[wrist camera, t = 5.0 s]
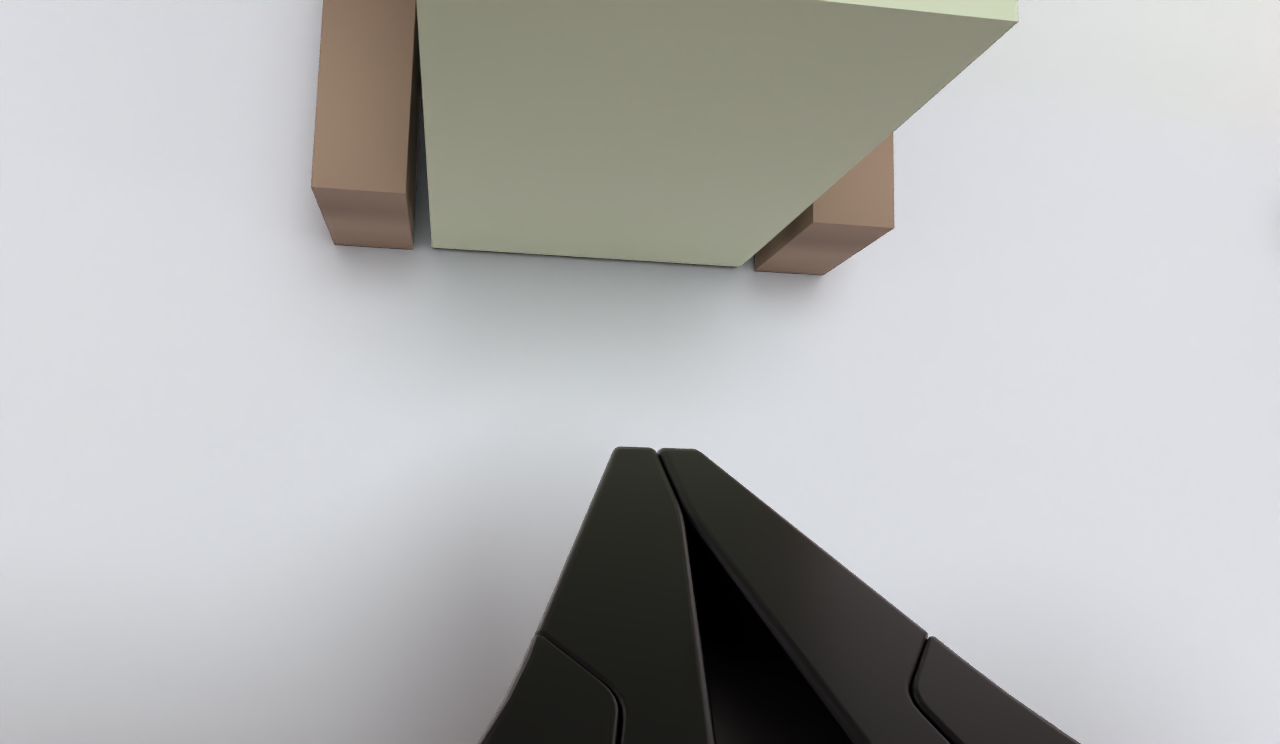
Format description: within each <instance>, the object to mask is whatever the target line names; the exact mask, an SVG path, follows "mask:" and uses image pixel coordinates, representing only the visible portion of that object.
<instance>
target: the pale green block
mask: <svg viewBox="0 0 1280 744" xmlns="http://www.w3.org/2000/svg"><path fill="white" fill-rule="evenodd" d="M416 3H417V18H418V34H419V50H420V66H421V82H422V98H423V114H424V130H425V146H426V162H427V178H428V194H429V210H430V225H431V241H432V248H448V249H463V250H479V251H495V252H511V253H527V254H543V255H559V256H575V257H591V258H607V259H623V260H639V261H655V262H671V263H687V264H703V265H719V266H735V267H741V266H742V265H743V264H744V263H745V262H747V261H748V260H749V259H750V258H751V257H752V256H753V255H754V254H756V253H757V252H758V251H759V250H760V249H761V248H762V247H764V246H765V245H766V244H767V243H768V242H769V241H770V240H771V239H773V238H774V237H775V236H776V235H777V234H778V233H779V232H781V231H782V230H783V229H784V228H785V227H786V226H787V225H788V224H790V223H791V222H792V221H793V220H794V219H795V218H796V217H798V216H799V215H800V214H801V213H802V212H803V211H804V210H805V209H807V208H808V207H809V206H810V205H811V204H812V203H813V202H815V201H816V200H817V199H818V198H819V197H820V196H821V195H822V194H824V193H825V192H826V191H827V190H828V189H829V188H830V187H832V186H833V185H834V184H835V183H836V182H837V181H838V180H839V179H841V178H842V177H843V176H844V175H845V174H846V173H847V172H849V171H850V170H851V169H852V168H853V167H854V166H855V165H856V164H858V163H859V162H860V161H861V160H862V159H863V158H864V157H866V156H867V155H868V154H869V153H870V152H871V151H872V150H873V149H875V148H876V147H877V146H878V145H879V144H880V143H881V142H883V141H884V140H885V139H886V138H887V137H888V136H889V135H890V134H892V133H893V132H894V131H895V130H896V129H897V128H898V127H900V126H901V125H902V124H903V123H904V122H905V121H906V120H907V119H909V118H910V117H911V116H912V115H913V114H914V113H915V112H917V111H918V110H919V109H920V108H921V107H922V106H923V105H924V104H926V103H927V102H928V101H929V100H930V99H931V98H932V97H934V96H935V95H936V94H937V93H938V92H939V91H940V90H941V89H943V88H944V87H945V86H946V85H947V84H948V83H949V82H951V81H952V80H953V79H954V78H955V77H956V76H957V75H958V74H960V73H961V72H962V71H963V70H964V69H965V68H966V67H968V66H969V65H970V64H971V63H972V62H973V61H974V60H975V59H977V58H978V57H979V56H980V55H981V54H982V53H983V52H985V51H986V50H987V49H988V48H989V47H990V46H991V45H992V44H994V43H995V42H996V41H997V40H998V39H999V38H1000V37H1002V36H1003V35H1004V34H1005V33H1006V32H1007V31H1008V30H1009V29H1011V28H1012V27H1013V26H1014V25H1015V24H1016V23H1017V22H1019V21H1018V0H416Z"/></svg>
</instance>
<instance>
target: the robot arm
mask: <svg viewBox="0 0 1280 744" xmlns="http://www.w3.org/2000/svg"><path fill="white" fill-rule="evenodd" d="M927 638H928V634H927V632H926V631H925V630H923V629H922V628H921V627H920V626H918V625H917V624H916V623H915V622H913V621H912V620H911V619H910V618H908V617H907V616H906V615H905V614H903V613H902V612H901V611H900V610H898V609H897V608H896V607H895V606H893V605H892V604H891V603H890V602H888V601H887V600H886V599H885V598H883V597H882V596H881V595H880V594H878V593H877V592H876V591H874V590H873V589H872V588H871V587H869V586H868V585H867V584H866V583H864V582H863V581H862V580H861V579H859V578H858V577H857V576H856V575H854V574H853V573H852V572H851V571H849V570H848V569H847V568H846V567H844V566H843V565H842V564H841V563H839V562H838V561H837V560H836V559H834V558H833V557H832V556H831V555H829V554H828V553H827V552H826V551H824V550H823V549H822V548H821V547H819V546H818V545H817V544H815V543H814V542H813V541H812V540H810V539H809V538H808V537H807V536H805V535H804V534H803V533H802V532H800V531H799V530H798V529H797V528H795V527H794V526H793V525H792V524H790V523H789V522H788V521H787V520H785V519H784V518H783V517H782V516H780V515H779V514H778V513H777V512H775V511H774V510H773V509H772V508H770V507H769V506H768V505H767V504H765V503H764V502H763V501H762V500H760V499H759V498H758V497H756V496H755V495H754V494H753V493H751V492H750V491H749V490H748V489H746V488H745V487H744V486H743V485H741V484H740V483H739V482H738V481H736V480H735V479H734V478H733V477H731V476H730V475H729V474H728V473H726V472H725V471H724V470H723V469H721V468H720V467H719V466H718V465H716V464H715V463H714V462H713V461H711V460H710V459H709V458H708V457H706V456H705V455H704V454H703V453H701V452H699V451H698V450H696V449H679V448H662V449H660V450H658V452H657V453H656V451H655V450H654V449H652V448H647V447H617V448H615V449H614V450H613V452H612V454H611V457H610V459H609V461H608V464H607V466H606V469H605V471H604V473H603V476H602V478H601V480H600V483H599V485H598V487H597V490H596V492H595V494H594V497H593V499H592V501H591V504H590V506H589V509H588V511H587V513H586V516H585V518H584V520H583V523H582V525H581V527H580V530H579V532H578V534H577V537H576V539H575V541H574V544H573V546H572V549H571V551H570V553H569V556H568V558H567V560H566V563H565V565H564V567H563V570H562V572H561V574H560V577H559V579H558V581H557V584H556V586H555V588H554V591H553V593H552V596H551V598H550V600H549V603H548V605H547V607H546V610H545V612H544V614H543V617H542V619H541V621H540V624H539V626H538V628H537V631H536V633H535V636H534V637H533V638H532V640H531V643H530V645H529V647H528V650H527V652H526V654H525V657H524V659H523V661H522V664H521V666H520V668H519V670H518V672H517V674H516V676H515V678H514V680H513V682H512V684H511V686H510V688H509V690H508V692H507V694H506V696H505V698H504V701H503V702H502V704H501V706H500V707H499V709H498V711H497V712H496V714H495V716H494V717H493V719H492V721H491V722H490V724H489V726H488V727H487V729H486V731H485V732H484V734H483V736H482V737H481V739H480V741H479V742H478V744H1080V743H1079V742H1077V741H1076V740H1074V739H1073V738H1071V737H1070V736H1068V735H1067V734H1065V733H1064V732H1062V731H1061V730H1059V729H1058V728H1057V727H1055V726H1054V725H1052V724H1051V723H1049V722H1048V721H1047V720H1045V719H1044V718H1042V717H1041V716H1039V715H1038V714H1037V713H1035V712H1034V711H1032V710H1031V709H1029V708H1028V707H1027V706H1025V705H1024V704H1022V703H1021V702H1019V701H1018V700H1017V699H1015V698H1014V697H1012V696H1011V695H1009V694H1008V693H1007V692H1005V691H1004V690H1003V689H1002V688H1000V687H999V686H998V685H996V684H995V683H994V682H992V681H991V680H990V679H988V678H987V677H986V676H984V675H983V674H982V673H980V672H979V671H978V670H976V669H975V668H974V667H973V666H971V665H970V664H969V663H967V662H966V661H965V660H963V659H962V658H961V657H960V656H958V655H957V654H956V653H954V652H953V651H952V650H951V649H949V648H948V647H947V646H946V645H944V644H943V643H942V642H941V641H939V640H938V639H937V638H936V637H933V636H931V637H929V638H928V639H927Z"/></svg>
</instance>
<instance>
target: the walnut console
mask: <svg viewBox="0 0 1280 744" xmlns="http://www.w3.org/2000/svg"><path fill="white" fill-rule="evenodd" d="M421 83H422V82H421V66H420V50H419V34H418V18H417V3H416V0H323V14H322V29H321V44H320V59H319V74H318V90H317V105H316V120H315V135H314V150H313V165H312V180H311V188H312V190H313V193H314V195H315V198H316V200H317V203H318V205H319V207H320V210H321V212H322V215H323V217H324V220H325V222H326V224H327V227H328V229H329V232H330V234H331V237H332V239H333V242H334V244H335V245H350V246H366V247H382V248H398V249H413V237H414V217H415V198H416V179H417V160H418V140H419V121H420V102H421ZM893 228H894V165H893V133H892V134H890V135H889V136H888V137H887V138H886V139H885V140H884V141H883V142H881V143H880V144H879V145H878V146H877V147H876V148H875V149H873V150H872V151H871V152H870V153H869V154H868V155H867V156H866V157H864V158H863V159H862V160H861V161H860V162H859V163H858V164H856V165H855V166H854V167H853V168H852V169H851V170H850V171H849V172H847V173H846V174H845V175H844V176H843V177H842V178H841V179H839V180H838V181H837V182H836V183H835V184H834V185H833V186H832V187H830V188H829V189H828V190H827V191H826V192H825V193H824V194H822V195H821V196H820V197H819V198H818V199H817V200H816V201H815V202H813V203H812V204H811V205H810V206H809V207H808V208H807V209H805V210H804V211H803V212H802V213H801V214H800V215H799V216H798V217H796V218H795V219H794V220H793V221H792V222H791V223H790V224H788V225H787V226H786V227H785V228H784V229H783V230H782V231H781V232H779V233H778V234H777V235H776V236H775V237H774V238H773V239H771V240H770V241H769V242H768V243H767V244H766V245H765V246H764V247H762V248H761V249H760V250H759V251H758V252H757V253H756V254H755V271H768V272H784V273H800V274H816V275H824V274H826V273H827V272H829V271H830V270H832V269H833V268H835V267H836V266H838V265H839V264H841V263H842V262H844V261H845V260H847V259H848V258H850V257H851V256H853V255H854V254H856V253H857V252H859V251H860V250H862V249H863V248H865V247H866V246H868V245H869V244H871V243H872V242H874V241H875V240H877V239H878V238H880V237H881V236H883V235H884V234H886V233H887V232H889V231H890V230H892V229H893Z"/></svg>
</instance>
